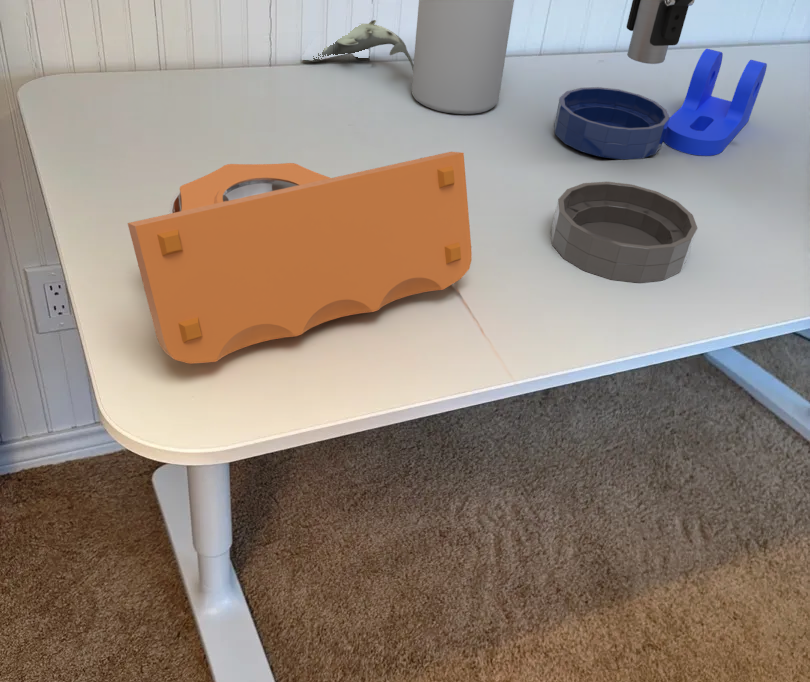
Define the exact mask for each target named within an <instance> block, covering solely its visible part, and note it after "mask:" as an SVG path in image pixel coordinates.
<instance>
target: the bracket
mask: <svg viewBox="0 0 810 682" xmlns="http://www.w3.org/2000/svg"><path fill="white" fill-rule="evenodd" d="M723 55H724V54H723V51H718V50H715V49H710V48H705V49H704V50H703V52H702V53H701V55H700V57H699V58H698V61H697V63H696V65H695V67H694V70H693V72H692V76H691V77H690V78H691V79H690V82H689V85H688V89H687V91H686V94H685V98H684V100H683V103H682V104H681V106H680V107H679V109H678V110H676V111H675V112H674V113H673V114H672V115H671V116H669V117H670V119H669V122H668V126H667V129H666V132H665V136H664V139H663V143H665V144H666V145H667V146H668V147H669V148H671V149H674V150H676V151H679V152H681V153H685V154H689V155H693V156H701V157H702V156H704V157H711V156H716V155H720V154H721V153H723V151H724V150H725V149H726V148H727V147H728V145H729V144H730V143H731V142H732V141H733V140H734V138H736V137H737V135H738V134H739V133H740V132H741V131H742V130H743V129H744V127H745V126H746V125H747V124H748V122H749V120H750V118H751V115H752V112H753V109H754V106H755V103H756V101H757V98H758V95H759V92H760V90H761V87H762V84H763V82H764V79H765V75H766V71H767V67H768V63H766V62H763V61H758V60H754V59H750V60H748V62H747V63H746V65H745V67H744V69H743V71H742V73H741V75H740V78H739V80H738V82H737V84H736V87H735V91H734V93H733V97H732V99H731V100H727V99H724V98H720V97H716V96H713V95H712V94H713V92H714V88H715V86H716V83H717V79H718V77H719V73H720V70H721V66H722V63H723V57H724V56H723Z"/></svg>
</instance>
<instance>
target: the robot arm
mask: <svg viewBox="0 0 810 682" xmlns="http://www.w3.org/2000/svg"><path fill="white" fill-rule="evenodd" d="M640 1H641V0H632V2H631V6H630V10H629V14H628V18H627V23H626V29H627V30H628V31H630V32H633V29H634V25H635V21H636V17H637V13H638V9H639V5H640ZM694 3H695V0H665V3H660V4H659V7H658V11H657V15H656V19H655V23H654V26H653V30H652V34H651V38H650V44H652V45H653V46H668V47H669V46H677V45H678V44H679V43H680V39H681V35H682V31H683V27H684V24H685V21H686V18H687V13H688V10H689V8H690V7H691V6H693V5H694Z"/></svg>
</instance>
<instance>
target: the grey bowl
mask: <svg viewBox="0 0 810 682" xmlns="http://www.w3.org/2000/svg"><path fill="white" fill-rule="evenodd" d="M556 202H557V203H556V207H555V212H554V217H553V221H552V226H551V231H550V235H551V237H550V238H551V245H552V247H553V248H554V249H555V250H556V251H557V252H558V254H559V255H560V256H561V258H562V259H564V260H565V261H567V262H568V263H570V264H571V265H573V266H574V267H575V266H576V267H577V268H578V269H580V270H582V271H584V272H586V273H590V274H592V275H596V276H598V277H602V278H605V279H608V280H612V281H618V282H619V281H620V282H627V283H628V282H629V283H635V284H641V283H642V284H643V283H650V282H651V283H652V282H661V281H664V280H667V279H669V278H671V277H673V276H675V275H678V274H679V273H681V271H682V270H683V268H684V266H685V264H686V262H687V259H688V257H689V254H690V251H691V248H692V245H693V243H694V240H695V236H696V234H697V231H698V225H697V223H696V220H695V217H694V215H693V213H691V212H690V210H688V209H687V208H686V207H685V206H683V204H681V203H680V202H679V201H677V200H675V199H673V198H671V197H669V196H667V195H665V194H663V193H661V192H659V191H656V190H653V189H650V188H646V187H643V186H640V185H635V184H630V183H624V182H623V183H622V182H615V181H596V182H595V181H594V182H583V183H580V184H578V185H577V184H576V185H575V186H573V187H569V188H567V189H566V190H565V191H564V192H563V193H562V194H561V196H560V197H559V198H558V199H557V201H556Z"/></svg>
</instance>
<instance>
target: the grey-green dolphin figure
mask: <svg viewBox="0 0 810 682" xmlns="http://www.w3.org/2000/svg"><path fill="white" fill-rule="evenodd" d="M376 22H377V20H376V19H373V20H370V21H369V23H360V24H361V25H359V26H358V27H355V28H354V29H353V30H352V31H350V33H348V35H345V36H342V38H340V39H338V40H337V41H336V42H335V44H334V43H333V45H330V46H329V47H327V46H326V48H324V50H323V52H322V55H323V56H322V57H324V55H325V56H326V54H327V56H329V55H331V54H333V55H334V54H335V55H338V54H345V53H348V54H347V55H349V54H351V53H355V52H359V51H362V50H365V49H368V48H369V49H371V48H374V47H379V46H383V45H384V46H385V45H392V46H393V47H392V48H391V49H390V51H389V56H393V55H395V54H398V53H402V54H404V55H405V56H406V58H407V59H408V61H409V63H410V66H411V69H412V70H413V65H414V61H413V60H412V57H411V55H410V53H409V52H408V49H407V46H406V43H405V42H404V40H403V39H402V38H401V37H400V36H399V35H398V34H396V33H395V32H393V31H392V30H390V29H388V28H387V27H384V26H382V25H378V24H376ZM320 55H321V54H320ZM320 55H319V53H318V56H320ZM313 57H314V56H313ZM320 57H321V56H320ZM316 58H317V57H316ZM354 58H355V60H358V61H370V60H371V59H370V57H369V58H358V57H354ZM313 59H314V61H313V62H318V61H317V60H320V59H319V57H318V59H315V58H313ZM321 59H322V58H321ZM315 60H316V61H315Z"/></svg>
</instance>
